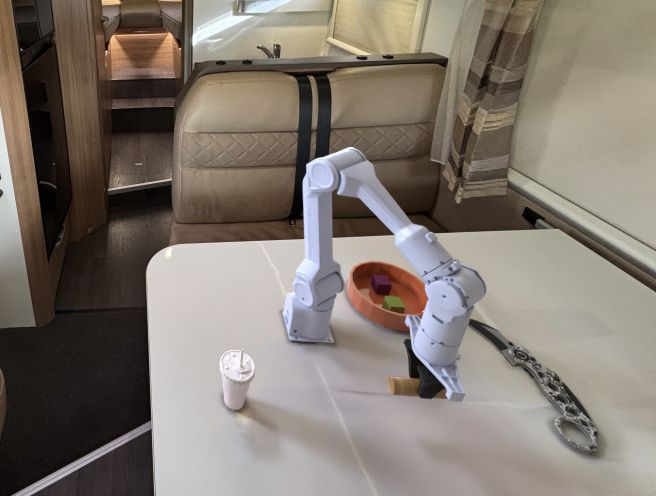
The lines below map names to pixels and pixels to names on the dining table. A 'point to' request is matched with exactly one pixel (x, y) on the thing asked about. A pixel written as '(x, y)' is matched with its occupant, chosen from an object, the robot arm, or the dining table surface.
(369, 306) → the bowl
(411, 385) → the stick
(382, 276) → the chunk
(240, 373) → the smoothie
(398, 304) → the chunk
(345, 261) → the dining table surface
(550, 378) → the knife
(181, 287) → the dining table surface
